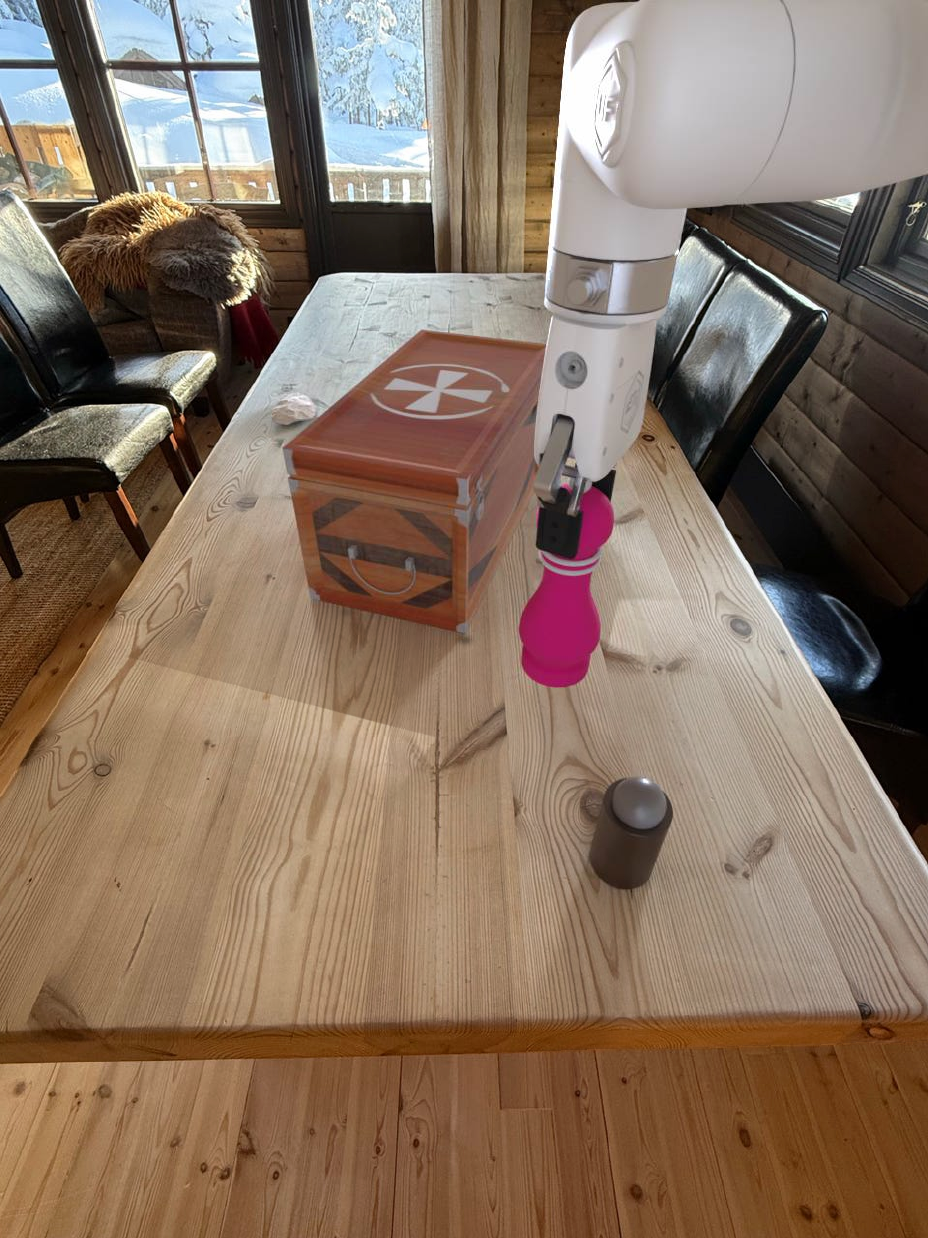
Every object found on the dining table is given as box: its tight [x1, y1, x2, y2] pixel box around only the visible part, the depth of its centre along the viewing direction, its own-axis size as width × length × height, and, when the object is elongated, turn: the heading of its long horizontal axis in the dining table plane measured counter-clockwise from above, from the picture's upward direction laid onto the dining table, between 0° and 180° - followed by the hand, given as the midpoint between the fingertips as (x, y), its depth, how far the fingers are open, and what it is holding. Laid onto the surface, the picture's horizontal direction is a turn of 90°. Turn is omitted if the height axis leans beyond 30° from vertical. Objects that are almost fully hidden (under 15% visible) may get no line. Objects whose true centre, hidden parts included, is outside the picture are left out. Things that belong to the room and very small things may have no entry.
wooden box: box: [282, 329, 547, 634], centre depth 86 cm, size 20×41×20 cm, turn 162°
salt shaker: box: [589, 775, 674, 891], centre depth 52 cm, size 5×5×10 cm
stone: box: [270, 392, 317, 426], centre depth 121 cm, size 8×14×2 cm, turn 5°
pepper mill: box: [518, 477, 615, 689], centre depth 55 cm, size 7×7×20 cm
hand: (573, 528), depth 52 cm, fingers closed on pepper mill, 6 cm apart
